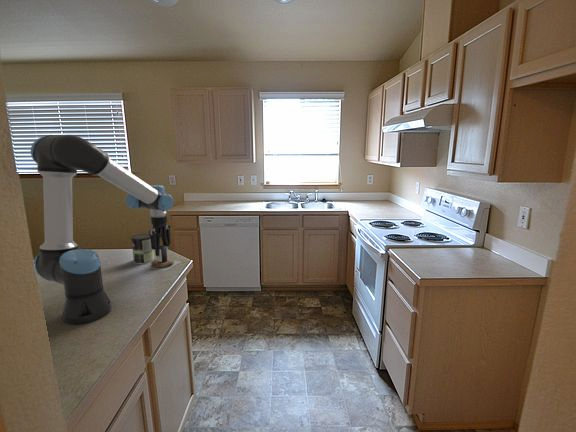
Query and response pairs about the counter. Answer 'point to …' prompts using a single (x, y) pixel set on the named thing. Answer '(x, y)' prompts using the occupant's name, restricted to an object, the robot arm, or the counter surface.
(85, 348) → the counter surface
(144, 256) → the coffee can
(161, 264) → the lid
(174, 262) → the mat
